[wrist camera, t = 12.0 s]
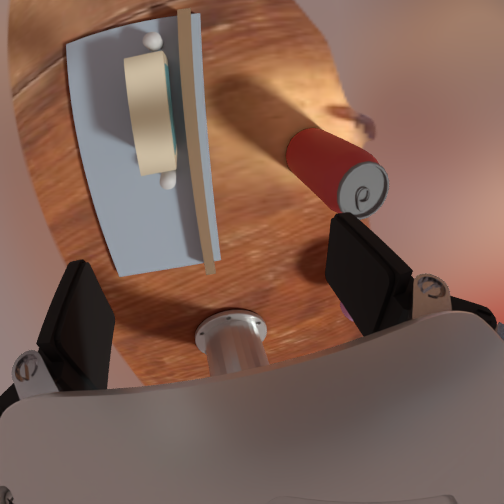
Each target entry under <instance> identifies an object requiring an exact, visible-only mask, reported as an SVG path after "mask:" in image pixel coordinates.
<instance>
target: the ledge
mask: <svg viewBox="0 0 504 504" xmlns="http://www.w3.org/2000/svg"><path fill="white" fill-rule="evenodd" d="M158 51H163V52H164V53H165V55H166V57H167V58H168V69H169V80H170V90H171V100H172V109H173V118H174V126H175V134H176V142H177V149H178V150H177V167H176V170H171V171H166V172H160V173H155V174H150V175H145V176H141V174H140V169H139V164H138V159H137V153H136V148H135V142H134V136H133V130H132V124H131V118H130V111H129V104H128V96H127V88H126V79H125V69H124V59H125V58H129V57H134V56H138V55H143V54H147V53H152V52H158ZM66 52H67V67H68V79H69V88H70V96H71V103H72V110H73V116H74V122H75V128H76V133H77V138H78V143H79V148H80V153H81V157H82V162H83V166H84V170H85V174H86V178H87V182H88V185H89V189H90V192H91V196H92V199H93V203H94V206H95V209H96V213H97V216H98V219H99V222H100V225H101V228H102V231H103V234H104V237H105V240H106V243H107V245H108V248H109V251H110V254H111V256H112V259H113V261H114V264H115V267H116V269H117V272H118V274H119V277H122V276H128V275H134V274H140V273H146V272H152V271H159V270H165V269H171V268H177V267H183V266H189V265H195V264H200V263H204V265H205V270H206V275H210V274H215V273H216V271H215V264H214V261H218V260H221V257H220V249H219V241H218V232H217V224H216V215H215V206H214V197H213V187H212V177H211V167H210V156H209V145H208V134H207V122H206V109H205V95H204V81H203V64H202V46H201V24H200V13H198V14H191V8H188V9H179V10H177V16H172V17H165V18H159V19H153V20H148V21H143V22H138V23H134V24H129V25H125V26H121V27H117V28H114V29H110V30H106V31H103V32H100V33H97V34H93V35H90V36H87V37H84V38H82V39H79V40H76V41H73V42H71V43H68V44H66Z"/></svg>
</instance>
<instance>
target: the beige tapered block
mask: <svg viewBox="0 0 504 504" xmlns="http://www.w3.org/2000/svg"><path fill="white" fill-rule="evenodd" d="M124 69H125V79H126V88H127V96H128V104H129V111H130V118H131V124H132V130H133V136H134V142H135V148H136V153H137V159H138V164H139V169H140V174H141V176H145V175H150V174H155V173H160V172H166V171H171V170H176V167H177V150H178V149H177V142H176V134H175V126H174V118H173V109H172V100H171V90H170V80H169V69H168V58H167V57H166V55H165V53H164V52H163V51H158V52H152V53H147V54H143V55H138V56H134V57H129V58H125V59H124Z"/></svg>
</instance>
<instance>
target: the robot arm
mask: <svg viewBox="0 0 504 504" xmlns="http://www.w3.org/2000/svg"><path fill="white" fill-rule="evenodd" d="M412 272H413V270H412V269H411V268H410V267H409V266H408V265H407V264H406V263H405V262H404V261H403V260H402V259H401V258H400V257H399V256H398V255H397V254H396V253H395V252H394V251H393V250H391V249H390V248H389V247H388V246H387V245H386V244H385V243H384V242H383V241H382V240H381V239H380V238H379V237H378V236H377V235H376V234H374V233H373V232H372V231H371V230H370V229H369V228H368V227H367V226H366V225H365V224H363V223H362V222H361V221H360V220H359V219H358V218H357V217H355V216H354V215H353V214H352V213H351V212H345V213H338V214H336V215H335V216H334V218H332V219H331V224H330V234H329V244H328V253H327V262H326V270H325V276H326V280H327V282H328V283H329V285H330V286H331V288H332V289H333V291H334V292H335V294H336V295H337V297H338V298H339V300H340V301H341V303H342V304H343V306H344V307H345V309H346V310H347V312H348V313H349V315H350V316H351V318H352V319H353V321H354V322H355V324H356V325H357V327H358V329H359V330H360V332H361V333H362V335H363V336H364V337H361V338H359V339H356V340H353V341H350V342H347V343H344V344H341V345H338V346H335V347H331V348H328V349H325V350H322V351H318V352H315V353H311V354H308V355H304V356H301V357H297V358H293V359H290V360H286V361H282V362H278V363H274V364H270V365H269V362H268V359H267V356H266V353H265V350H264V347H263V344H262V341H263V340H264V339H265V336H266V333H267V328H266V324H265V322H264V320H263V319H262V317H260V316H259V315H258V314H256V313H254V312H250V311H246V310H229V311H224V312H220V313H217V314H215V315H213V316H211V317H209V318H207V319H206V320H204V321H203V322H202V323H201V324H200V325H199V327H198V328H197V330H196V332H195V342H196V345H197V347H198V348H199V350H200V351H202V352H203V353H205V354H207V360H208V365H209V371H210V377H207V378H201V379H195V380H189V381H182V382H175V383H168V384H160V385H151V386H142V387H132V388H118V389H107V382H108V372H109V362H110V354H111V346H112V339H113V332H114V325H115V316H114V313H113V311H112V309H111V307H110V305H109V303H108V301H107V299H106V297H105V295H104V293H103V291H102V289H101V287H100V285H99V283H98V281H97V279H96V276H95V274H94V272H93V270H92V268H91V265H90V264H89V263H88V262H85V261H84V260H83V259H82V260H77V261H73V262H70V263H69V264H68V266H67V268H66V270H65V273H64V275H63V277H62V279H61V281H60V284H59V286H58V288H57V290H56V293H55V295H54V297H53V300H52V302H51V305H50V307H49V310H48V312H47V315H46V318H45V320H44V323H43V325H42V328H41V331H40V334H39V337H38V340H37V343H36V344H37V345H38V346H39V350H38V352H36V351H34V350H29V351H26V352H24V353H23V354H21V355H20V356H19V357H18V358H17V360H16V361H15V363H14V365H13V368H12V378H13V381H14V383H13V384H12V385H11V386H10V387H9V388H8V389H7V390H6V391H5V392H4V393H3V394H2V395H1V396H0V504H504V324H502V323H500V322H499V323H498V324H497V322H496V318H495V316H494V315H493V313H492V312H491V311H490V310H489V309H488V308H487V307H484V306H482V305H479V304H475V303H472V302H469V301H466V300H462V299H459V298H456V297H453V296H450V291H449V288H448V286H447V284H446V283H445V282H444V281H443V280H442V279H440V278H439V277H437V276H434V275H431V274H420V275H418V276H416V278H415V279H414V278H413V277H412V276H411V275H412Z"/></svg>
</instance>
